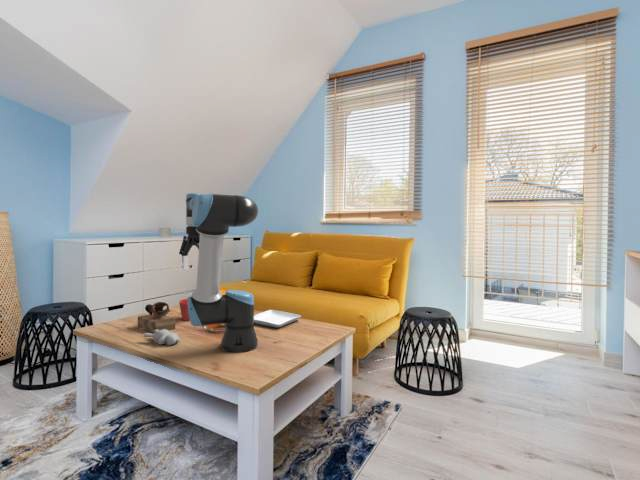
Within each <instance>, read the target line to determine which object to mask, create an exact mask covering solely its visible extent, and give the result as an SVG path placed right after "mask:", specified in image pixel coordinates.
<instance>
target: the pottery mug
mask: <svg viewBox="0 0 640 480" xmlns="http://www.w3.org/2000/svg"><path fill="white" fill-rule="evenodd" d="M164 307H166V308H165V309H164ZM144 309H145V311H146V313H148V315H149V314H150V315H152V314H153V315H154V316H153V318H154V319H157V317H162V316H165V315H166V316H167V315H168V313H169V312H171V310H170V307H169V304H168V303H167V302H164V301H158V302H155V303H153V304H146V305H145V307H144Z"/></svg>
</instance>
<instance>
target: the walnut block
mask: <svg viewBox="0 0 640 480" xmlns="http://www.w3.org/2000/svg"><path fill="white" fill-rule="evenodd" d="M153 316H154V315H153V313H152V315H150V314H149V313H148V314H144V315H140V316H139V315H138V316H137V328H141V329H142V330H146V331H148V332H149V333H150V332H151V333H152V334H155V332H154V330H156V329H158V330H163V329H166V330H168V331H172V330H175V329H176V318H175V317H172V316H169V315H167V314H166V315H165V316H162V317H157V319H154V318H153Z"/></svg>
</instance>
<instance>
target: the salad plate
mask: <svg viewBox="0 0 640 480" xmlns="http://www.w3.org/2000/svg"><path fill="white" fill-rule="evenodd" d="M301 317H302V315H301V314H296V313H292V312H286V311H283V310H275V309H267V310H266V311H261V312H260V313H256V314H254V324H256V325H261V326H265V327H271V328H281V327H284V326H286V325H289V324H291V323H293V322H296V321H297V320H299V319H301Z"/></svg>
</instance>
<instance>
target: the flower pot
mask: <svg viewBox="0 0 640 480" xmlns="http://www.w3.org/2000/svg"><path fill="white" fill-rule="evenodd" d="M179 309H180V315H181V319H182V320H183V321H187V322H190V318H189V313H188V305H187V298H185V299H181V300H179Z"/></svg>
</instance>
